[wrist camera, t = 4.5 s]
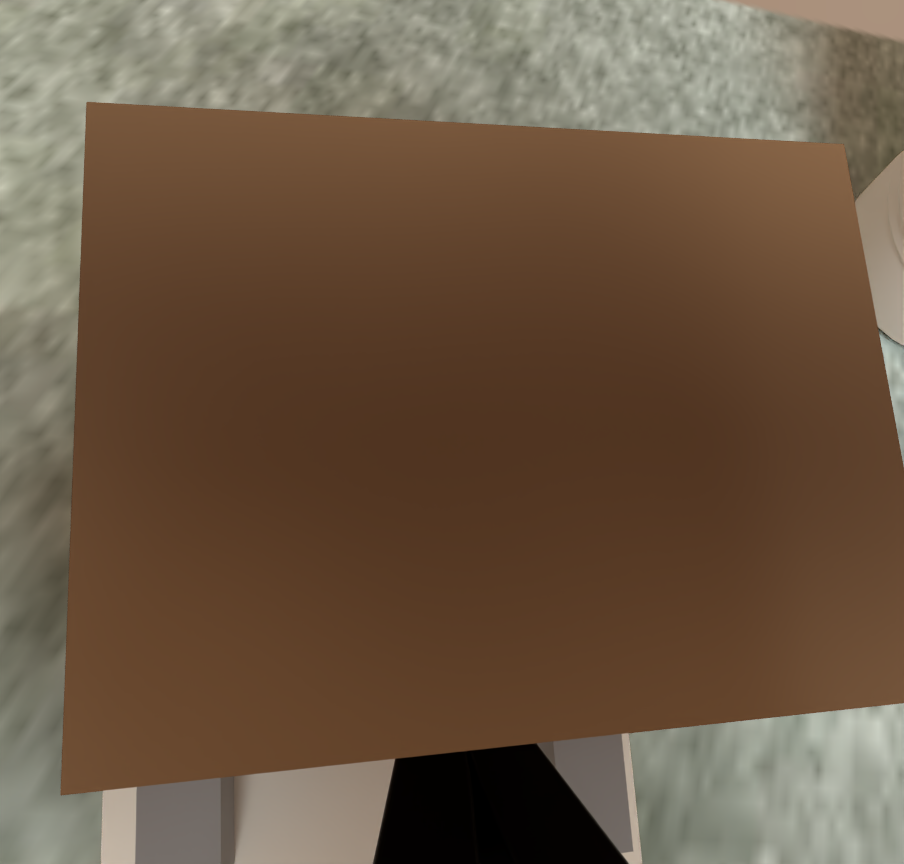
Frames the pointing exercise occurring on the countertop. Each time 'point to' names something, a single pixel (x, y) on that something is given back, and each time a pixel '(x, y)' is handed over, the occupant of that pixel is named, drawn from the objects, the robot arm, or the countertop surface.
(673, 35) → the countertop surface
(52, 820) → the countertop surface
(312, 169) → the walnut block
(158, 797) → the pink base plate
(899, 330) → the cup
